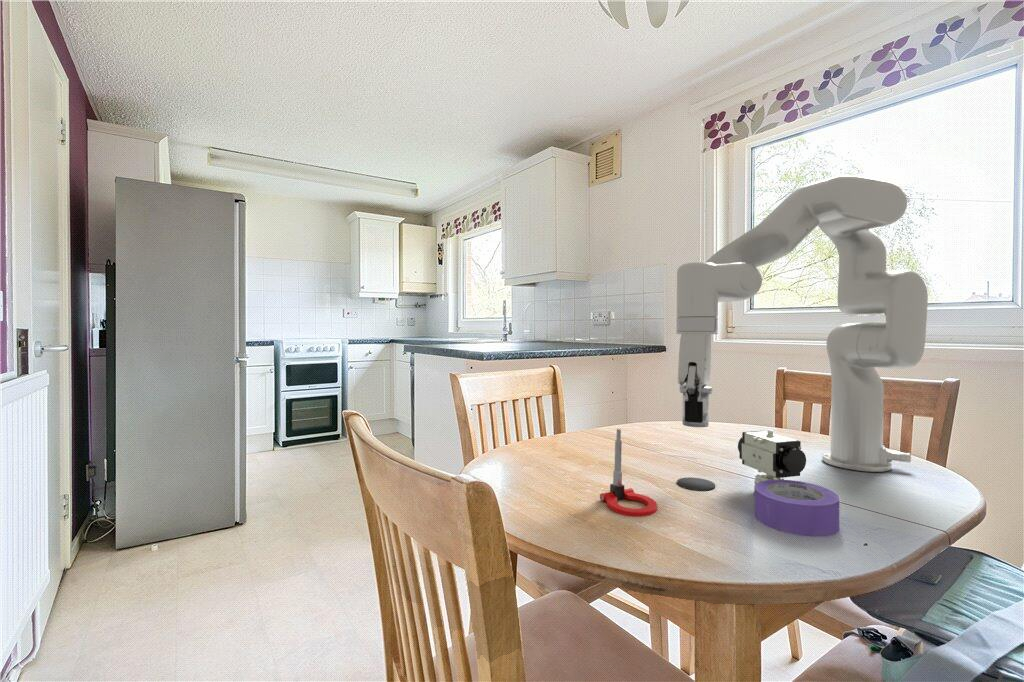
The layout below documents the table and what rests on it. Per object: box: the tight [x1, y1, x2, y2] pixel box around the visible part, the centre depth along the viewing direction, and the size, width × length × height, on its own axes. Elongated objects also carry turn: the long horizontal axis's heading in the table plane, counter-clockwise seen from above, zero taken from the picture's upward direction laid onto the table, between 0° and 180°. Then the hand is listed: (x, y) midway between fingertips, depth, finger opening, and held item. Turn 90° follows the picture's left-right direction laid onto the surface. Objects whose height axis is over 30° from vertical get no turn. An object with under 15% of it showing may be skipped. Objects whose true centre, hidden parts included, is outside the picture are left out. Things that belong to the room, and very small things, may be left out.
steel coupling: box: [679, 384, 713, 428], centre depth 94 cm, size 6×6×8 cm
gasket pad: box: [676, 477, 716, 492], centre depth 95 cm, size 7×7×1 cm
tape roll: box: [753, 479, 840, 538], centre depth 77 cm, size 12×12×5 cm
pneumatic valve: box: [737, 429, 807, 485], centre depth 88 cm, size 6×12×12 cm, turn 15°
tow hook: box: [599, 428, 658, 517], centre depth 83 cm, size 8×13×9 cm
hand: (695, 418), depth 94 cm, fingers closed on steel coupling, 4 cm apart
